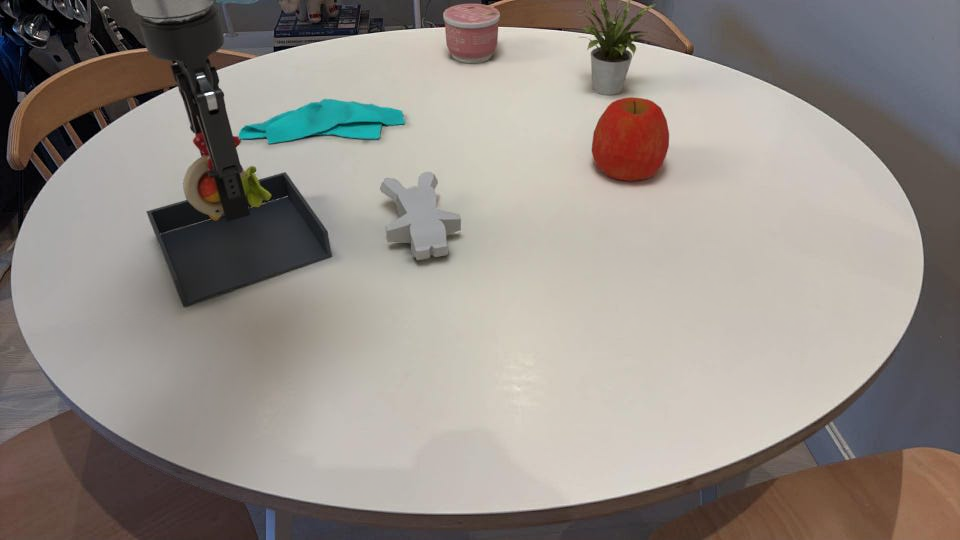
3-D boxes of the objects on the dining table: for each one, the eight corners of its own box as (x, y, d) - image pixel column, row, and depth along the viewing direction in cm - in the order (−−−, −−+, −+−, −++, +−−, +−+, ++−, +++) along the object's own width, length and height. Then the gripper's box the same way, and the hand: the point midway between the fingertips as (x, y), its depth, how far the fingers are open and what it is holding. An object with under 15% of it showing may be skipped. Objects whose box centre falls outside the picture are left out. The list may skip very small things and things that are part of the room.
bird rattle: (235, 244, 82) (288, 189, 84) (175, 185, 73) (237, 125, 75) (207, 223, 85) (259, 171, 88) (147, 164, 76) (207, 108, 79)
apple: (643, 144, 108) (653, 79, 101) (677, 180, 100) (692, 113, 93) (578, 154, 105) (585, 89, 99) (608, 193, 97) (618, 124, 91)
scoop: (332, 256, 87) (327, 230, 84) (183, 307, 80) (173, 280, 77) (266, 160, 104) (260, 136, 102) (139, 195, 97) (130, 170, 95)
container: (504, 63, 131) (505, 21, 126) (449, 68, 129) (447, 25, 124) (493, 42, 139) (493, 1, 134) (440, 46, 137) (439, 5, 132)
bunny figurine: (392, 245, 82) (371, 168, 92) (394, 275, 85) (374, 197, 95) (470, 232, 84) (441, 157, 94) (469, 262, 87) (441, 187, 97)
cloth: (406, 100, 119) (405, 88, 118) (404, 140, 109) (403, 127, 107) (252, 104, 118) (249, 92, 117) (235, 145, 108) (231, 132, 106)
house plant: (545, 94, 121) (552, -1, 110) (577, 65, 130) (585, -26, 120) (624, 113, 116) (638, 14, 105) (651, 81, 125) (666, -12, 114)
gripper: (240, 32, 64) (286, 234, 79) (193, -23, 76) (240, 161, 91) (156, 49, 61) (219, 255, 76) (120, -11, 74) (181, 177, 89)
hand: (230, 203), depth 84 cm, fingers closed on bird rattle, 5 cm apart
